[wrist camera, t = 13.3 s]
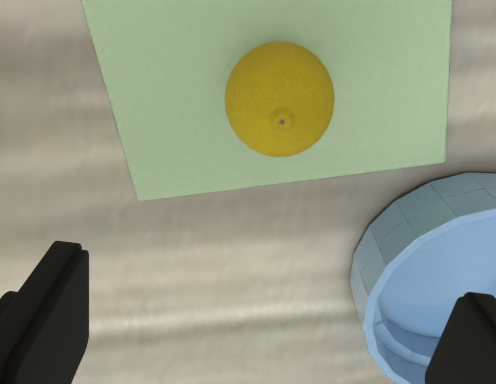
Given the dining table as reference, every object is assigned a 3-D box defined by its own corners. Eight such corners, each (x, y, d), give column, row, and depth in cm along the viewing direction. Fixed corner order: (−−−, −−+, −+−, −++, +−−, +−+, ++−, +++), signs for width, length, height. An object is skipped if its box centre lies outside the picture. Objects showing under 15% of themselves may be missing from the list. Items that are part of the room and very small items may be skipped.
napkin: (139, 199, 31) (138, 201, 30) (80, -10, 25) (78, -9, 25) (443, 161, 29) (445, 162, 29) (452, -72, 23) (454, -73, 23)
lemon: (316, 23, 25) (339, 43, 18) (329, 118, 27) (354, 169, 20) (219, 44, 26) (204, 71, 19) (240, 135, 28) (233, 191, 21)
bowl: (316, 317, 35) (325, 368, 30) (413, 139, 28) (442, 170, 24) (490, 368, 37) (523, 424, 32) (617, 213, 30) (680, 255, 26)
